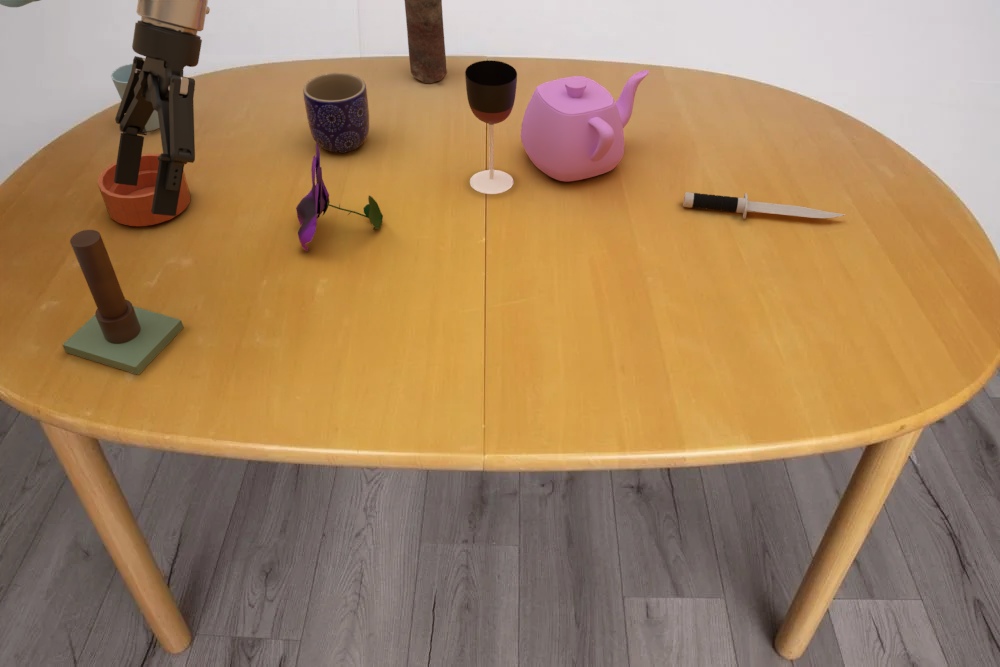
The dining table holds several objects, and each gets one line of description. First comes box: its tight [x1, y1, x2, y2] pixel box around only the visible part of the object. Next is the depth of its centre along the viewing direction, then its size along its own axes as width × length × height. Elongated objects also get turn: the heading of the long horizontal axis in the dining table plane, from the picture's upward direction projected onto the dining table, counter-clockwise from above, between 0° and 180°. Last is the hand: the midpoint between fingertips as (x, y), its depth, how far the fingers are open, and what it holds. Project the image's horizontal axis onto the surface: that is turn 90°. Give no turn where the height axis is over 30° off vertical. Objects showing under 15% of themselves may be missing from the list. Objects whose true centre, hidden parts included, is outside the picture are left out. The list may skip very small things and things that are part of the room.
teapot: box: [520, 69, 650, 182], centre depth 150 cm, size 23×21×15 cm
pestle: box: [69, 229, 141, 344], centre depth 114 cm, size 5×5×16 cm
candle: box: [403, 0, 448, 84], centre depth 172 cm, size 8×7×20 cm
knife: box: [682, 191, 846, 220], centre depth 142 cm, size 26×2×5 cm
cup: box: [110, 63, 160, 132], centre depth 160 cm, size 8×8×10 cm
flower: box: [295, 143, 384, 252], centre depth 136 cm, size 15×15×14 cm
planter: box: [302, 72, 370, 154], centre depth 155 cm, size 11×11×11 cm
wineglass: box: [464, 59, 518, 195], centre depth 143 cm, size 8×9×20 cm
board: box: [61, 305, 185, 376], centre depth 120 cm, size 12×10×2 cm
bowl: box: [97, 152, 191, 227], centre depth 142 cm, size 13×13×6 cm
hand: (143, 198), depth 110 cm, fingers open, 13 cm apart
